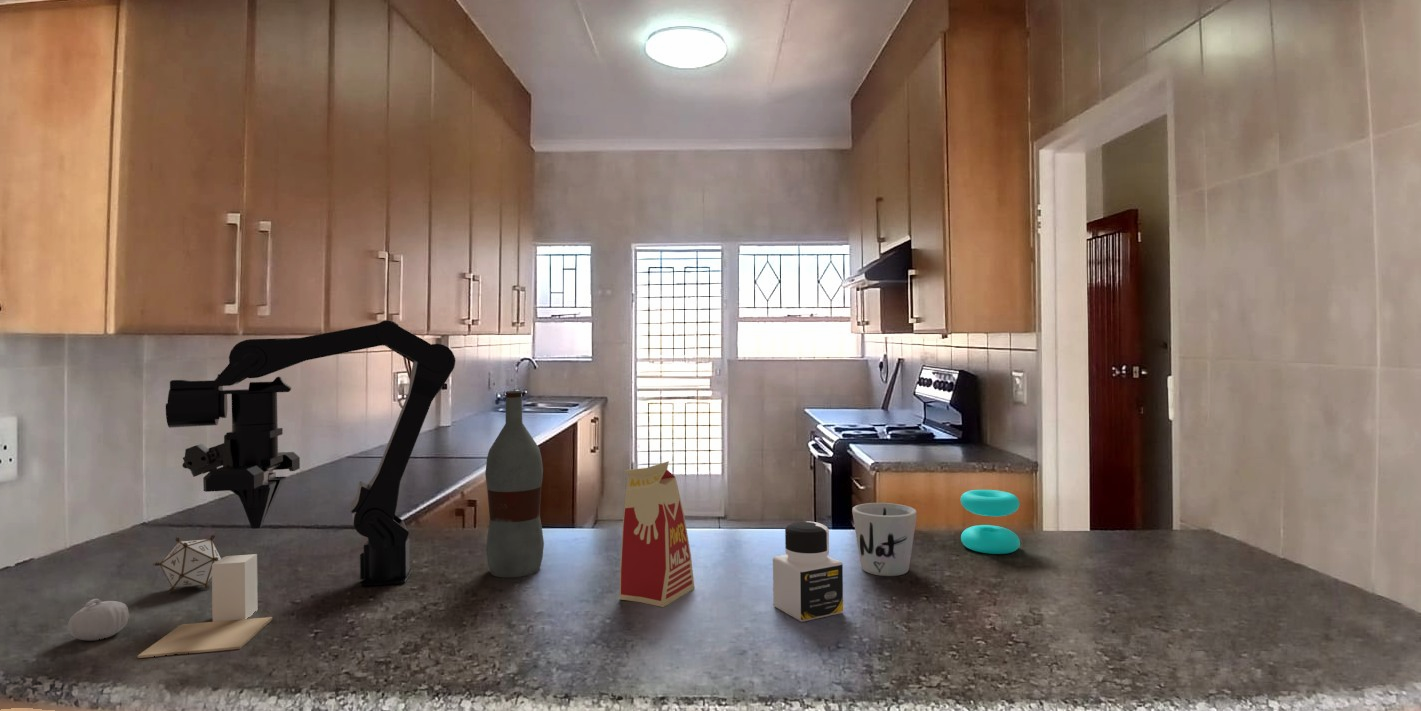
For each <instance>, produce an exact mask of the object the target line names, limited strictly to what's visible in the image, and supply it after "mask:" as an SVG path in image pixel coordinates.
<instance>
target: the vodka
mask: <svg viewBox="0 0 1421 711" xmlns="http://www.w3.org/2000/svg"><path fill="white" fill-rule="evenodd" d="M504 394H505V424H504V425H503V427H502V429H501V430H500V432H499V434H498V435H497V437H496V438H495V440H494V442H493V443H492V444H491V447H490V448H489V450H488V452H487V457H486V462H485V465H486V466H485V475H484V476H485V482H486V487H487V488H486V490H487V500H488V501H487V502H488V512H489V521H488V522H489V523H488V529H487V534H486V535H487V536H486V537H487V538H486V545H485V546H486V547H485V550H486V551H485V552H486V559H487V566H488V568H489V572H490V574H491V575H492V576H494V577H498V578H508V579H509V578H520V577H527V576H530V575H533V574H535V573H537V572H538V571H540V569H541V565H542V562H543V556H544V546H545V542H544V535H543V526H542V521H541V501H542V500H541V498H542V484H543V474H544V467H543V460H542V453H541V450H540V447H539V445H538V444H537V442H536V441H535V439H534V438H533V437H532V435H531V433H530V432H529V431H528V428H526V426H525V424H524V423H523V400H522V396H523V395H522V394H523V391H522V390H507V391H505V392H504Z"/></svg>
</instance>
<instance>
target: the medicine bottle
mask: <svg viewBox="0 0 1421 711" xmlns="http://www.w3.org/2000/svg"><path fill="white" fill-rule="evenodd" d="M784 531H785V532H784V536H785V538H784V539H785V540H784V541H785V542H784V544H785V545H784V546H785V551H784V552H785V554H781V555H776V556H773V557H772V581H773V582H772V589H773V590H772V595H773V597H772V598H773V601H772V602H773V603H772V604H773V607H775V608H777V609H778V610H780V611H781V612H783V613H785V614H786V615H788V616H791V617H792V618H793V619H795V620H797V621H798V622H800V623H804V622H809V621H813V620H816V619H817V620H818V619H822V618H825V617H831V616H835V615H840V614H843V612H844V585H843V582H844V581H843V580H844V579H843V577H844V574H843V573H844V572H843V569H844V567H843V562H842V561H841V560H837V559H835V558H833V557H831V556H829V554H830V529H829V528H828V527H827V526H826V525H825V524H822V523H820V522H817V521H816V522H815V521H810V520H809V521H806V520H805V521H802V520H801V521H795V522H792V523H790V524H788V525H787V526H786V527H785V529H784Z"/></svg>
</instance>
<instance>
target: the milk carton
mask: <svg viewBox="0 0 1421 711" xmlns="http://www.w3.org/2000/svg"><path fill="white" fill-rule="evenodd" d="M668 466H669V461H666V462H662V463H661V462H660V463H658V464H655V465H652V466H649V467H641V468H640V467H639V468H633V469H624V470H623V471H624V472H625V473H626V474H628V476H627V481H626V482H627V483H626V487H625V498H624V499H625V500H624V509H623V510H624V511H623V519H622V530H621V531H622V532H621V533H622V534H621V547H620V549H621V550H620V562H619V563H620V566H619V596H618V598H619V600H621V601H622V600H623V601H628V602H629V601H631V602H637V603H638V602H639V603H643V604H647V605H651V606H657V607H661V608H664V607H666V606H668V605H669V604H672V603H673V602H674V601H676V600H678V599H680V598H681V597H683V596H684V595H686V594H688V593H689V592H691V591H692V590H694V589H695V581H694V580H695V579H694V570H693V563H692V562H693V561H692V553H691V548H690V543H689V542H690V541H689V536H688V529H687V523H686V517H685V512H684V508H683V504H682V501H681V500H682V499H681V497H680V496H681V495H680V492H679V487H678V483H677V478H676V476H675V475H674V474H673V473H672V472H671V471H670V470H668V468H669V467H668Z"/></svg>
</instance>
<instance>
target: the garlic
mask: <svg viewBox="0 0 1421 711" xmlns="http://www.w3.org/2000/svg"><path fill="white" fill-rule="evenodd" d="M84 605H85V606H84V607H82V608H81V609H80V610H78V611H77V612H75V613H74V614H72V616H70V618H69V619H68V623H67V629H68V632H69V634H70V635H71V636H72V637H73V638H74V639H77V640H81V641H100V640H104V638H105V639H108V638H110V637H112V636H114V635H116V634H117V633H119V632H121V630H122V629H124V628H125V626H126V625H127V624H128V621H129V616H130V615H129V608H128V606H127V604H125V603H124V602H121V601H116V600H105V601H102V600H100V599H99V598H93V599H91V600H88V601H87V602H86V603H85V604H84ZM99 639H100V640H99Z"/></svg>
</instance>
